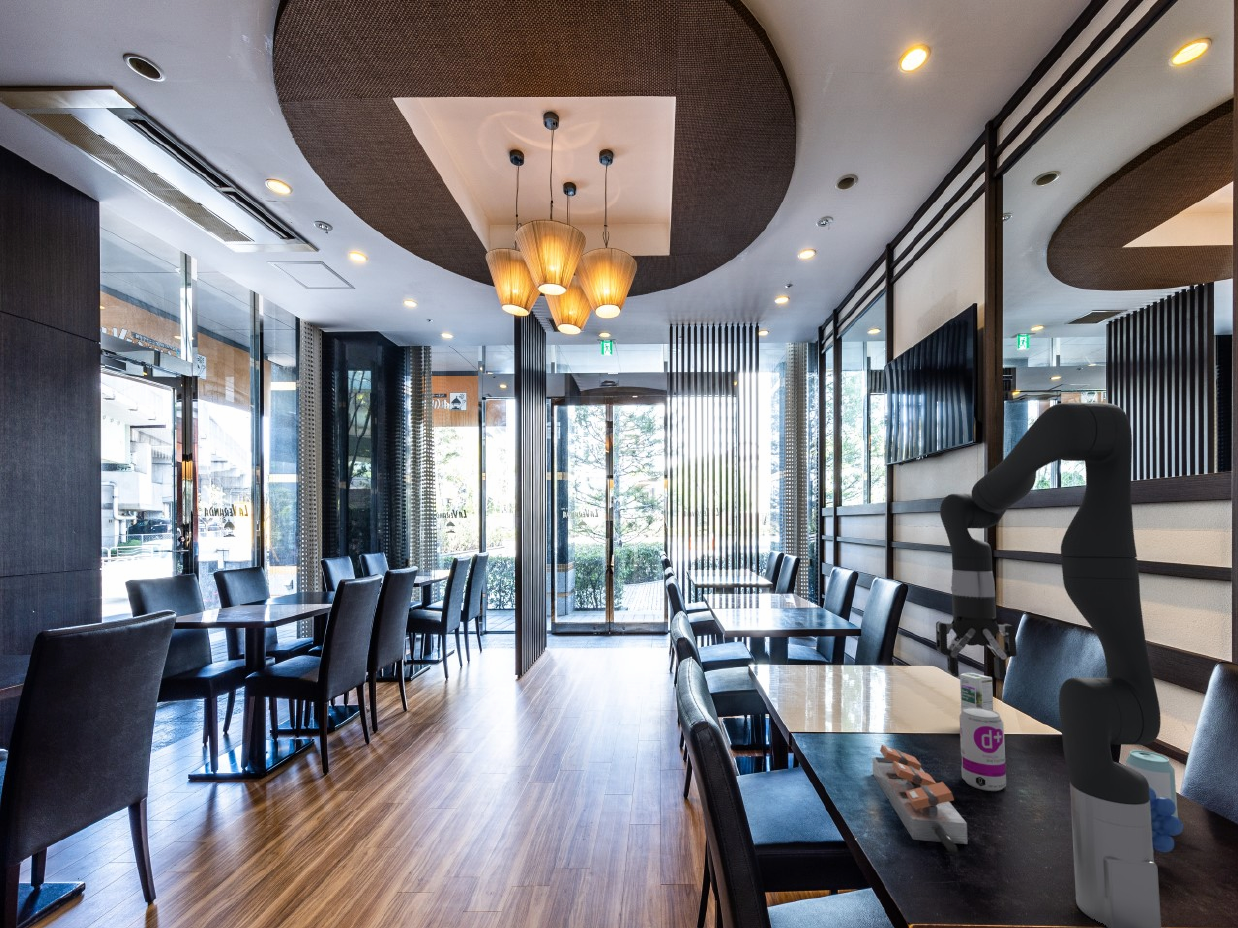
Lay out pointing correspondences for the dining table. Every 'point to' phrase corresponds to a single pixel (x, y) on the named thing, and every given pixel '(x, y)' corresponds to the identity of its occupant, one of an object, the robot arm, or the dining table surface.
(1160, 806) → the grapes
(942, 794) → the block
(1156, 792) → the can
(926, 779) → the rocker
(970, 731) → the supplement can
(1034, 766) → the dining table surface
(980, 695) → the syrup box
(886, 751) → the rocker
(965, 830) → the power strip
